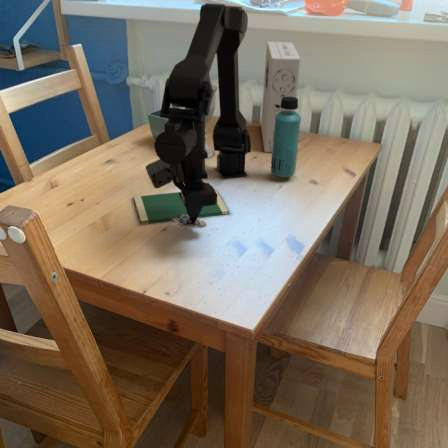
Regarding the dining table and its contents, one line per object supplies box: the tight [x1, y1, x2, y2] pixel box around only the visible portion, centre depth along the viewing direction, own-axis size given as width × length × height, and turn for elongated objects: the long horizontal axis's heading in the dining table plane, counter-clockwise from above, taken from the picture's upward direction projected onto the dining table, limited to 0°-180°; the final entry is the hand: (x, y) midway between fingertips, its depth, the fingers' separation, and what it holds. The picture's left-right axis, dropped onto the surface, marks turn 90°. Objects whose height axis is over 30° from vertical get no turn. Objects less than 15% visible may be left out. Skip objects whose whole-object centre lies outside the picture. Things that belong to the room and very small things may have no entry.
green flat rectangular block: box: [133, 188, 230, 225], centre depth 112 cm, size 20×12×1 cm, turn 106°
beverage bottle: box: [270, 97, 302, 178], centre depth 120 cm, size 6×7×20 cm
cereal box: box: [260, 41, 301, 153], centre depth 140 cm, size 22×8×25 cm, turn 179°
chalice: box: [205, 84, 219, 158], centre depth 132 cm, size 7×7×18 cm
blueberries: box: [171, 214, 208, 230], centre depth 101 cm, size 7×8×2 cm
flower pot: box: [147, 108, 168, 141], centre depth 140 cm, size 9×9×9 cm
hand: (191, 217), depth 101 cm, fingers closed on blueberries, 2 cm apart
